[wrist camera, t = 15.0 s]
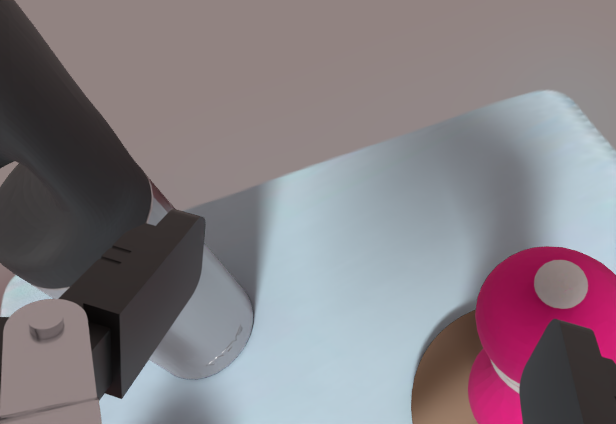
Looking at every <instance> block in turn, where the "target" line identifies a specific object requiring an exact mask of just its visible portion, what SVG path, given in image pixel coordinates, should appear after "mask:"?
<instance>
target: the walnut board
mask: <svg viewBox="0 0 616 424" xmlns="http://www.w3.org/2000/svg"><path fill="white" fill-rule="evenodd" d="M475 313H476V310H474V311H471V312H469V313H467V314H465V315H463V316H461V317H460V318H458V319H457V320H455V321H454V322H452V323H451V324H449V325H448V326H447V327H446V328H445V329H444V330H442V331H441V332H440V333H439V334H438V336H437V337H436V338H435V339H434V340H433V341H432V342H431V344H430V345H429V347H428V349H427V350H426V352H425V353H424V355H423V357H422V359H421V361H420V363H419V366H418V369H417V372H416V375H415V378H414V383H413V389H412V400H411V411H412V422H413V424H478V423H477V421H476V419H475V418H474V415H473V413H472V410H471V407H470V403H469V398H468V381H469V375H470V372H471V368H472V365H473V363H474V361H475V359H476V357H477V355H478V354H479V353H480V352H481V350H482V349H483V346H482V344H481V341H480V338H479V335H478V331H477V325H476V318H475Z"/></svg>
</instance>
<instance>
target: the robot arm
mask: <svg viewBox="0 0 616 424" xmlns="http://www.w3.org/2000/svg"><path fill="white" fill-rule="evenodd" d="M13 161H16V162H18V163H19V164H18V165H17V166H16V167H15V168H14V170H13V171H12V172H11V173H10V174H9V176H8V177H7V178H6V180H5V181H4V182H3V184H2V185H1V187H0V263H1V264H2V265H3V266H5V267H6V268H7V269H9V270H10V271H12V272H13V273H14V274H16V275H17V276H19V277H20V278H22V279H24V280H25V281H27V282H28V283H30V284H31V285H33V286H34V287H36V288H38V289H39V290H41V291H42V292H44V293H45V294H47V295H49V296H50V297H52V298H53V299H45V300H40V301H36V302H33V303H30V304H28V305H25V306H24V307H22V308H20V309H18V310H17V311H16V312H14V313H13V314H12V315H11V316H10V317H0V424H102V422H101V414H100V406H99V400H100V399H101V397H102V396H103V395H104V393H106V394H109V395H112V396H115V397H118V398H121V399H122V398H123V396H124V395H125V394H126V392H127V391H128V389H129V388H130V386H131V385H132V383H133V382H134V380H135V379H136V377H137V376H138V374H139V373H140V372H141V370H142V369H143V367H144V366H145V364H146V363H147V361H148V360H150V361H152V362H153V363H155V364H157V365H158V366H160V367H161V368H163V369H165V370H166V371H168V372H170V373H171V374H173V375H174V376H177V377H180V378H183V379H201V378H206V377H209V376H211V375H214V374H216V373H218V372H220V371H221V370H223V369H224V368H226V367H227V366H229V365H230V364H231V363H232V362H233V361H234V360H235V359H236V358H237V357H238V355H239V354H240V353H241V351H242V350H243V348H244V347H245V345H246V343H247V341H248V339H249V336H250V333H251V329H252V325H253V310H252V304H251V302H250V299H249V297H248V295H247V294H246V292H245V291H244V290H243V288H242V287H241V286H240V285H239V284H238V282H237V281H236V280H235V279H234V278H233V277H232V275H231V274H230V273H229V272H228V270H227V269H226V268H225V267H224V266H223V264H222V263H221V262H220V261H219V260H218V259H217V257H216V256H215V255H214V254H213V253H212V251H211V250H210V249H209V248H208V247H207V246H206V244H205V243H204V236H205V219H204V218H203V217H200V216H197V215H193V214H190V213H186V212H183V211H179V210H176V209H175V208H174V207H173V205H172V204H171V203H170V202H169V201H168V200H167V199H166V198H165V196H164V195H163V194H162V193H161V192H160V190H159V189H158V188H157V187H156V186H155V185H154V183H153V182H152V181H151V180H150V179H149V178H148V176H147V175H146V174H145V173H144V171H143V170H142V169H141V168H140V167H139V166H138V165H137V163H136V162H135V161H134V160H133V158H132V157H131V156H130V155H129V153H128V151H127V150H126V149H125V147H124V146H123V144H122V143H121V141H120V140H119V138H118V137H117V136H116V134H115V133H114V131H113V130H112V129H111V127H110V126H109V124H108V123H107V122H106V120H105V119H104V118H103V117H102V115H101V114H100V113H99V112H98V110H97V109H96V108H95V107H94V106H93V104H92V103H91V102H90V101H89V99H88V98H87V97H86V96H85V94H84V93H83V92H82V90H81V89H80V88H79V86H78V85H77V84H76V82H75V81H74V80H73V79H72V77H71V76H70V75H69V73H68V72H67V71H66V69H65V68H64V66H63V65H62V64H61V62H60V61H59V60H58V58H57V57H56V56H55V54H54V53H53V51H52V50H51V49H50V47H49V46H48V44H47V43H46V42H45V40H44V39H43V38H42V36H41V35H40V33H39V32H38V31H37V29H36V28H35V27H34V25H33V24H32V23H31V21H30V20H29V19H28V18H27V16H26V15H25V14H24V12H23V11H22V10H21V8H20V7H19V6H18V5H17V3H16V2H15V1H14V0H0V168H2V167H4V166H5V165H7V164H9V163H11V162H13ZM519 396H520V404H521V412H522V421H523V424H616V364H615V362H614V361H613V360H612V359H608V358H605V357H602V356H601V353H600V350H599V346H598V343H597V340H596V337H595V334H594V332H593V330H592V329H590V328H586V327H583V326H579V325H576V324H572V323H569V322H565V321H562V320H558V319H553V320H552V321H550V323H549V324H548V326H547V327H546V329H545V331H544V333H543V335H542V336H541V338H540V340H539V342H538V343H537V345H536V347H535V349H534V351H533V352H532V354H531V356H530V358H529V360H528V361H527V363H526V365H525V367H524V370H523V372H522V376H521V380H520V387H519Z"/></svg>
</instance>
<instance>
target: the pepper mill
mask: <svg viewBox="0 0 616 424" xmlns="http://www.w3.org/2000/svg"><path fill="white" fill-rule="evenodd" d="M475 318H476V325H477V331H478V335H479V338H480V341H481V344H482V346H483V349H482V350H481V352H480V353H479V354H478V355H477V357H476V359H475V361H474V363H473V365H472V368H471V372H470V375H469V381H468V398H469V403H470V407H471V410H472V413H473V415H474V418H475V419H476V421H477V423H478V424H523V421H522V412H521V404H520V396H519V387H520V380H521V376H522V372H523V370H524V367H525V365H526V363H527V361H528V360H529V358H530V356H531V354H532V352H533V351H534V349H535V347H536V345H537V343H538V342H539V340H540V338H541V336H542V335H543V333H544V331H545V329H546V327H547V326H548V324H549V323H550V321H552V320H553V319H558V320H562V321H565V322H569V323H572V324H576V325H579V326H583V327H586V328H590V329H592V330H593V332H594V334H595V337H596V340H597V343H598V346H599V350H600V353H601V356H602V357H605V358H608V359H612V360H613V361H614V362H615V364H616V275H615V274H614V273H613V272H612V271H611V270H610V269H608V268H607V267H606V266H605V265H603V264H602V263H601V262H599V261H597V260H595V259H593V258H592V257H590V256H588V255H585V254H583V253H580V252H578V251H575V250H571V249H567V248H563V247H534V248H530V249H526V250H523V251H520V252H518V253H516V254H514V255H512V256H510V257H508V258H507V259H506V260H504V261H503V262H501V263H500V264H499V265H497V266H496V267H495V269H494V270H493V271H492V272H491V273H490V274H489V275H488V277H487V278H486V280H485V282H484V284H483V285H482V287H481V290H480V292H479V295H478V299H477V305H476V313H475Z"/></svg>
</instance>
